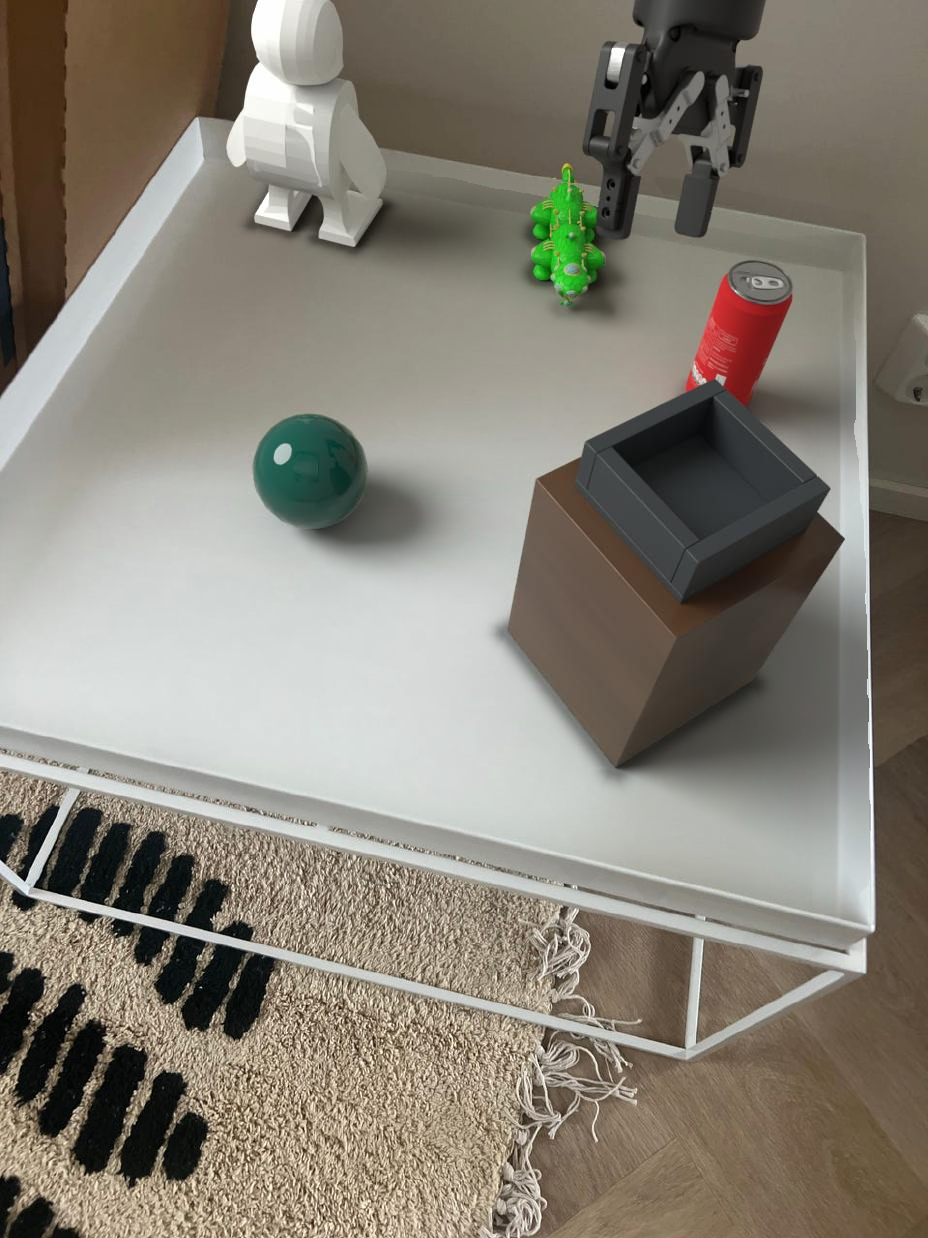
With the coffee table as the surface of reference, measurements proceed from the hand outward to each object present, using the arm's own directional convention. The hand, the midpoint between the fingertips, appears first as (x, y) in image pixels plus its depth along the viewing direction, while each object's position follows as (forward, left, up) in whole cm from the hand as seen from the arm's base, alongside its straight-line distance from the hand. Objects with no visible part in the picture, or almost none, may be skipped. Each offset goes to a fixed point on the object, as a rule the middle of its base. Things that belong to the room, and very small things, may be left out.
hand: (652, 236), depth 64 cm
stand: (+12, +18, -17) cm, 28 cm away
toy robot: (+8, -33, -17) cm, 38 cm away
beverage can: (-9, +3, -17) cm, 19 cm away
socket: (+12, +18, -1) cm, 22 cm away
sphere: (+24, -4, -17) cm, 30 cm away
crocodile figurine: (-9, -18, -17) cm, 26 cm away
